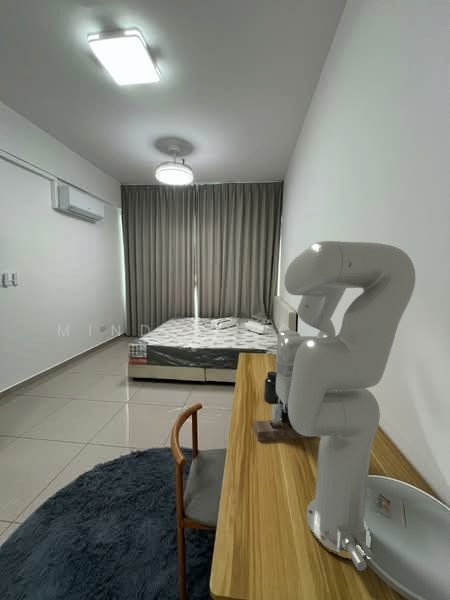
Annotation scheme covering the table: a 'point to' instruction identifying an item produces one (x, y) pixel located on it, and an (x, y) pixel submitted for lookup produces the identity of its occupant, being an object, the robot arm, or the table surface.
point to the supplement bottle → (270, 388)
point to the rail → (275, 431)
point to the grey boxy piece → (277, 414)
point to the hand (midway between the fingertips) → (284, 418)
